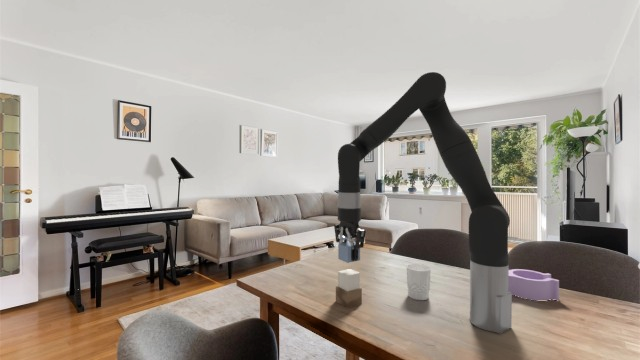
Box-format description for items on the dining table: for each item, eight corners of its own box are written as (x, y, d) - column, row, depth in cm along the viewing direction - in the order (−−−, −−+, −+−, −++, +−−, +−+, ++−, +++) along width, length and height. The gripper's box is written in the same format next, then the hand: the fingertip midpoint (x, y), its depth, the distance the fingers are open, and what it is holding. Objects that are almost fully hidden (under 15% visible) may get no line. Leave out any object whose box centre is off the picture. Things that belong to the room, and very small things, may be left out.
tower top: (359, 288, 96) (359, 272, 95) (347, 291, 93) (347, 275, 93) (349, 283, 100) (350, 268, 100) (338, 286, 97) (338, 271, 97)
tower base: (361, 304, 95) (361, 288, 95) (347, 308, 92) (347, 292, 92) (350, 297, 100) (350, 282, 100) (335, 301, 97) (335, 286, 97)
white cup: (414, 302, 96) (414, 271, 96) (401, 293, 104) (402, 264, 104) (435, 299, 98) (435, 269, 98) (421, 290, 106) (421, 263, 106)
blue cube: (360, 260, 95) (360, 244, 95) (347, 262, 93) (347, 246, 93) (350, 256, 100) (350, 241, 99) (338, 258, 97) (338, 243, 97)
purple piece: (491, 296, 101) (492, 276, 101) (484, 284, 113) (484, 266, 113) (562, 304, 95) (563, 283, 95) (547, 290, 107) (547, 271, 106)
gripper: (373, 207, 92) (372, 262, 92) (345, 203, 104) (344, 252, 104) (354, 209, 88) (354, 266, 88) (327, 204, 100) (327, 255, 100)
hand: (349, 258), depth 96 cm, fingers closed on blue cube, 5 cm apart
